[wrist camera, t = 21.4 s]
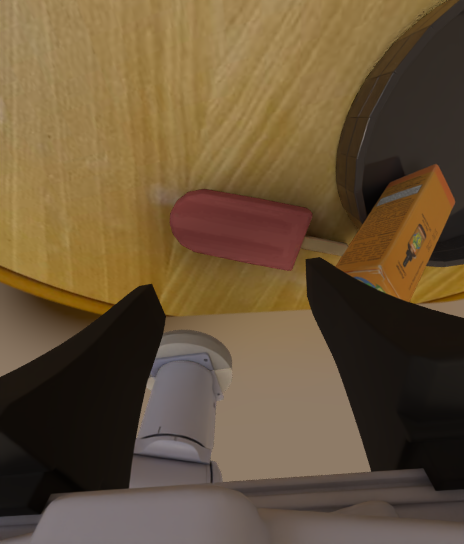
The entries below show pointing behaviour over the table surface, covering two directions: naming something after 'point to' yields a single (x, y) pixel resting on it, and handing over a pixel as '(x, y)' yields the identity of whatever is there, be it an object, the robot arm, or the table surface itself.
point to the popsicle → (246, 229)
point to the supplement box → (400, 233)
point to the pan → (410, 124)
